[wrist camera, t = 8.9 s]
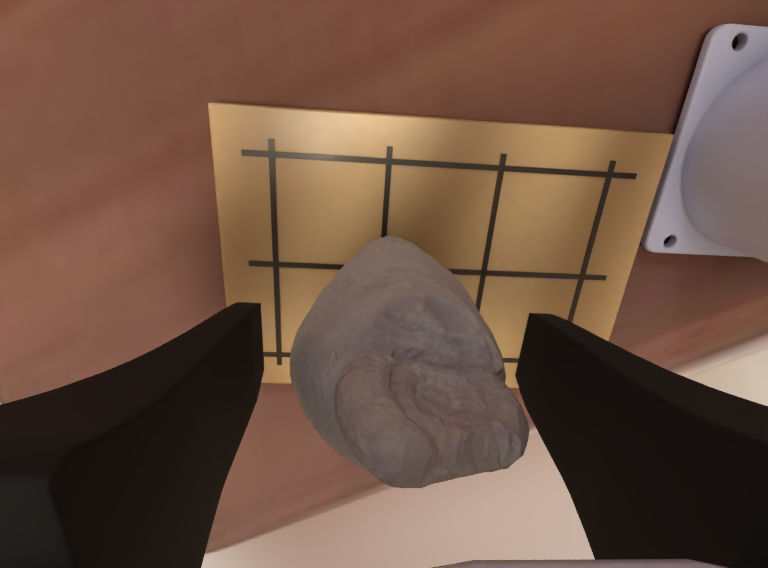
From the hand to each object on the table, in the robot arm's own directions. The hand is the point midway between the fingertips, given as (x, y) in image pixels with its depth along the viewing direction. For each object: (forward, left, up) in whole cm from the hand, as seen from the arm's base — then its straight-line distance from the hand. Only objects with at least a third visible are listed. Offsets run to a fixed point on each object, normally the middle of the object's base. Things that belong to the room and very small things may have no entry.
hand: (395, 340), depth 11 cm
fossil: (0, 0, -6) cm, 6 cm away
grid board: (-2, 0, -6) cm, 7 cm away
